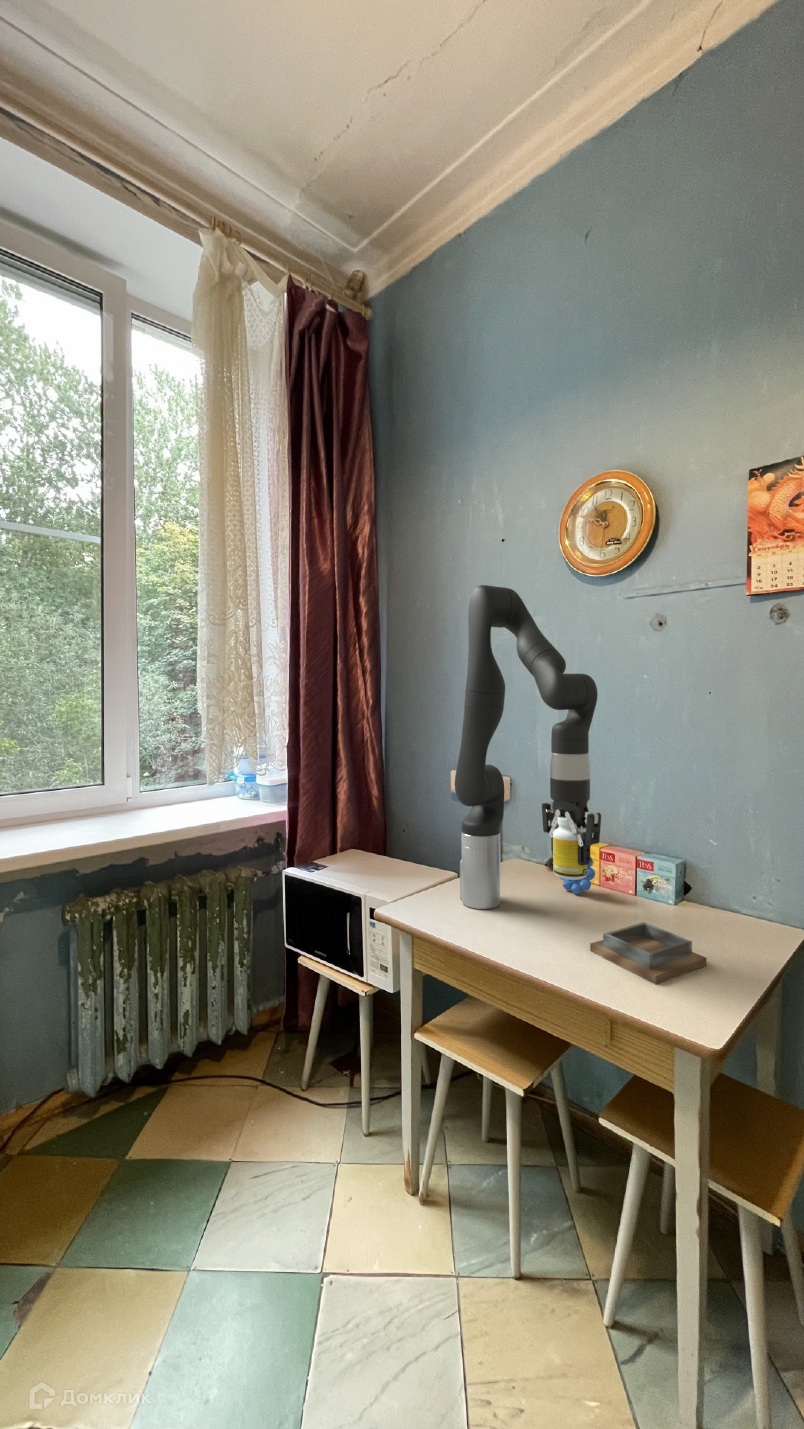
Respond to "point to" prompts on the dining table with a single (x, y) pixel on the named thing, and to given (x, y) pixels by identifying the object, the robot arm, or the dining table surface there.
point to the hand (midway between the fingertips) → (570, 859)
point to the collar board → (649, 952)
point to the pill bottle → (566, 853)
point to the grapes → (580, 881)
